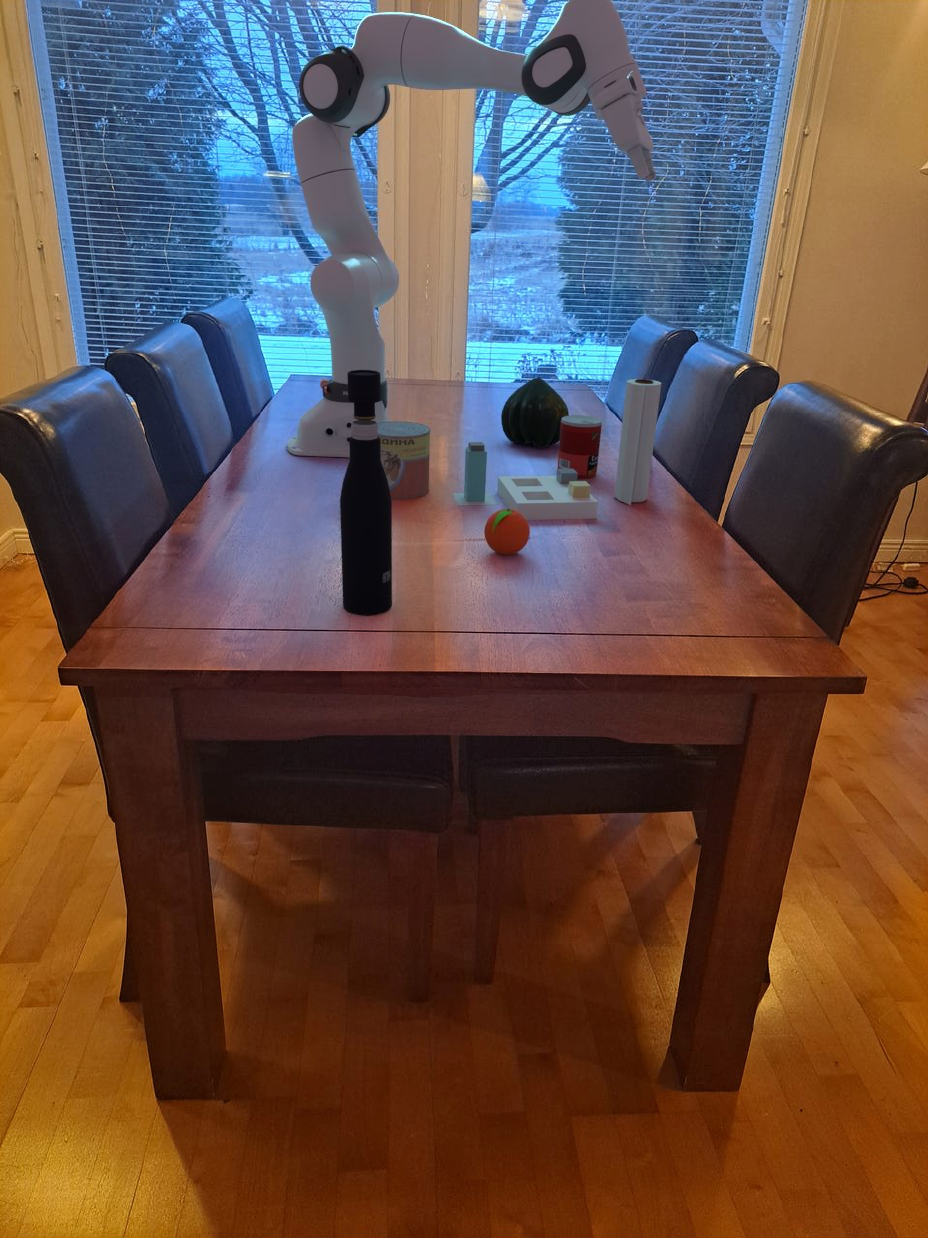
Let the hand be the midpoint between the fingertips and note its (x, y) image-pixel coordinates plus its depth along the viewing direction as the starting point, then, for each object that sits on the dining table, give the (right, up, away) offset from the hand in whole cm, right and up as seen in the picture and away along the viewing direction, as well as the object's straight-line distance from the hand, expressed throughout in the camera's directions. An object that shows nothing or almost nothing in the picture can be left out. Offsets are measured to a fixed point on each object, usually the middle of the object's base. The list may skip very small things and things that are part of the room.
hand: (648, 178), depth 151 cm
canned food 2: (-9, -47, +26) cm, 54 cm away
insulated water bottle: (-44, -74, -35) cm, 93 cm away
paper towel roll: (-1, -54, +11) cm, 55 cm away
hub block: (-17, -56, +5) cm, 59 cm away
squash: (-16, -36, +48) cm, 62 cm away
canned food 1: (-44, -53, +10) cm, 69 cm away
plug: (-30, -54, +6) cm, 62 cm away
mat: (-30, -55, +7) cm, 63 cm away
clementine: (-25, -66, -16) cm, 73 cm away
